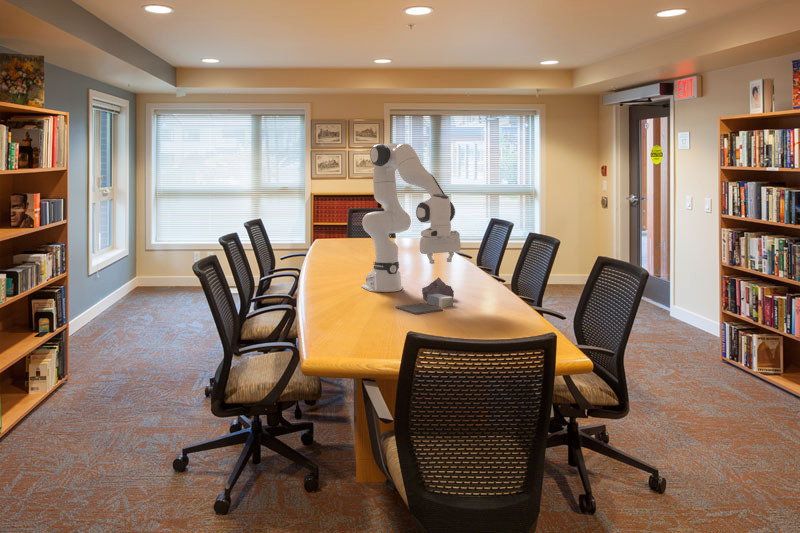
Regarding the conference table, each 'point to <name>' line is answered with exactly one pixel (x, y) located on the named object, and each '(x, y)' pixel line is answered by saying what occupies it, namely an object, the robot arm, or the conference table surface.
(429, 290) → the stone
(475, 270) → the conference table surface
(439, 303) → the block
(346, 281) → the conference table surface
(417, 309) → the mat
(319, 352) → the conference table surface
